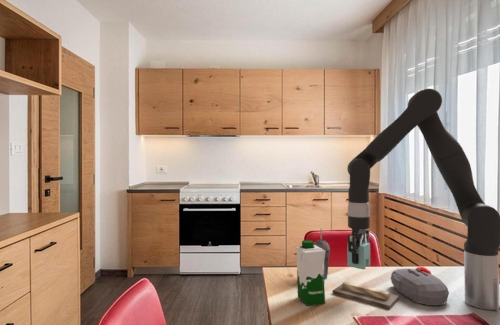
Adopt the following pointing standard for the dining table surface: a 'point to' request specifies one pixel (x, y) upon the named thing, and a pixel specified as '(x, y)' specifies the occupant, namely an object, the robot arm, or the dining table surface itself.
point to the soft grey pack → (420, 286)
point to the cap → (423, 269)
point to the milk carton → (310, 273)
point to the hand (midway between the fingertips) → (358, 261)
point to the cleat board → (366, 295)
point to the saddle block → (360, 256)
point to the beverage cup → (325, 247)
